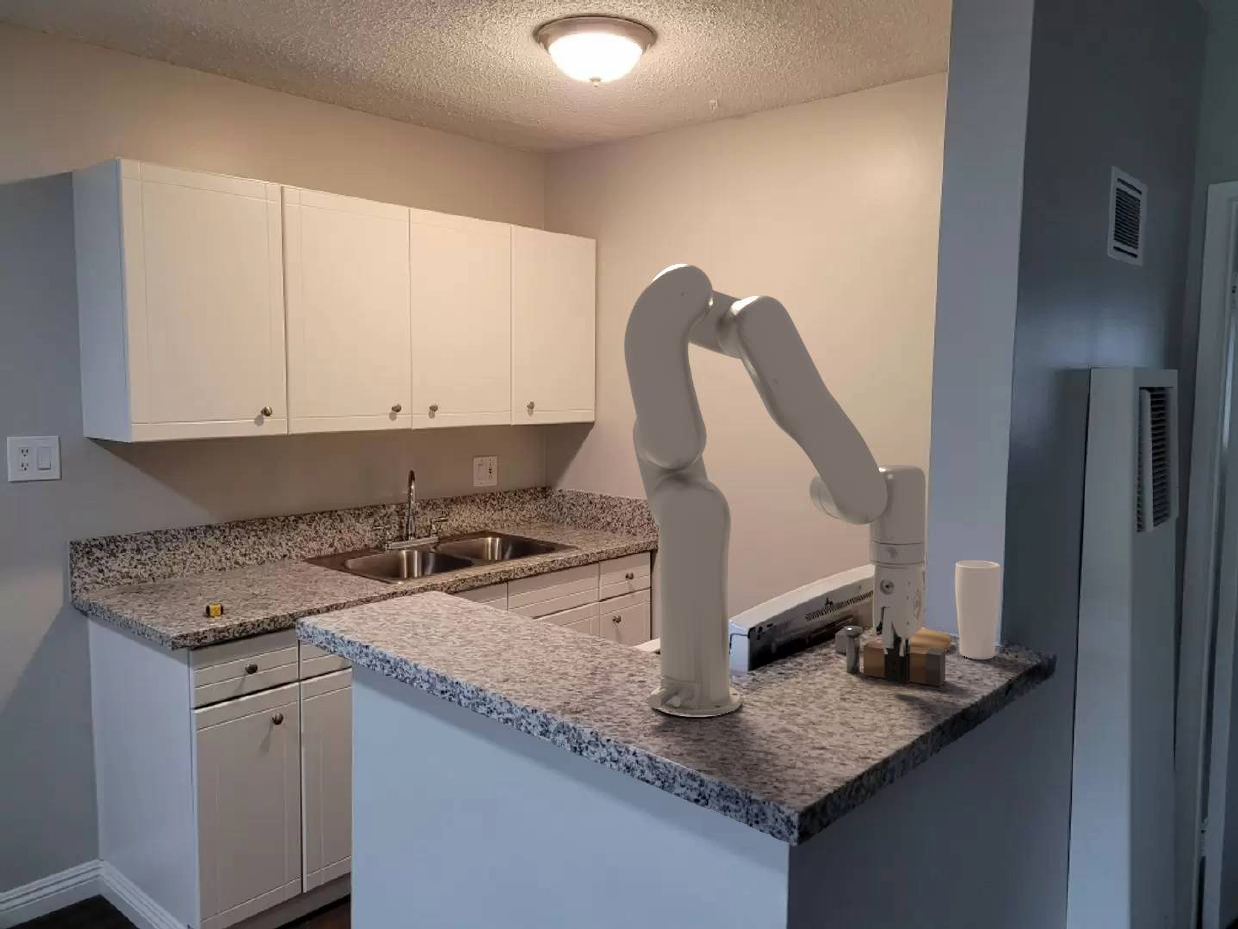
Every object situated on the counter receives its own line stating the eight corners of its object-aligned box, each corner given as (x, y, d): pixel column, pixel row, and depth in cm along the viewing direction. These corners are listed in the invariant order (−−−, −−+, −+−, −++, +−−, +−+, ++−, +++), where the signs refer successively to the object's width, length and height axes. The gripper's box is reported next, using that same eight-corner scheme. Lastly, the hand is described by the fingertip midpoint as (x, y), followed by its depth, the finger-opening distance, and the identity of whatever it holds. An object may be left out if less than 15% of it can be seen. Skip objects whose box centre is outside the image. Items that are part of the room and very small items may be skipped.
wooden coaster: (943, 657, 143) (943, 648, 143) (874, 649, 149) (874, 640, 149) (956, 641, 152) (956, 632, 152) (891, 633, 158) (891, 625, 158)
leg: (940, 686, 129) (940, 655, 128) (863, 675, 135) (862, 645, 134) (945, 679, 132) (945, 649, 131) (869, 669, 137) (869, 639, 137)
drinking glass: (992, 650, 147) (992, 559, 146) (1005, 662, 140) (1006, 567, 139) (949, 650, 147) (950, 560, 146) (961, 662, 141) (961, 568, 140)
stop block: (849, 653, 146) (849, 635, 146) (835, 651, 148) (835, 634, 147) (856, 647, 150) (856, 630, 150) (842, 645, 151) (842, 628, 151)
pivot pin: (859, 675, 135) (859, 631, 135) (841, 672, 137) (841, 629, 136) (864, 670, 137) (864, 627, 137) (847, 667, 139) (846, 624, 138)
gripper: (909, 564, 117) (909, 701, 119) (938, 547, 130) (938, 671, 131) (853, 559, 121) (853, 691, 123) (886, 543, 134) (886, 663, 135)
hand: (897, 680), depth 127 cm, fingers closed
